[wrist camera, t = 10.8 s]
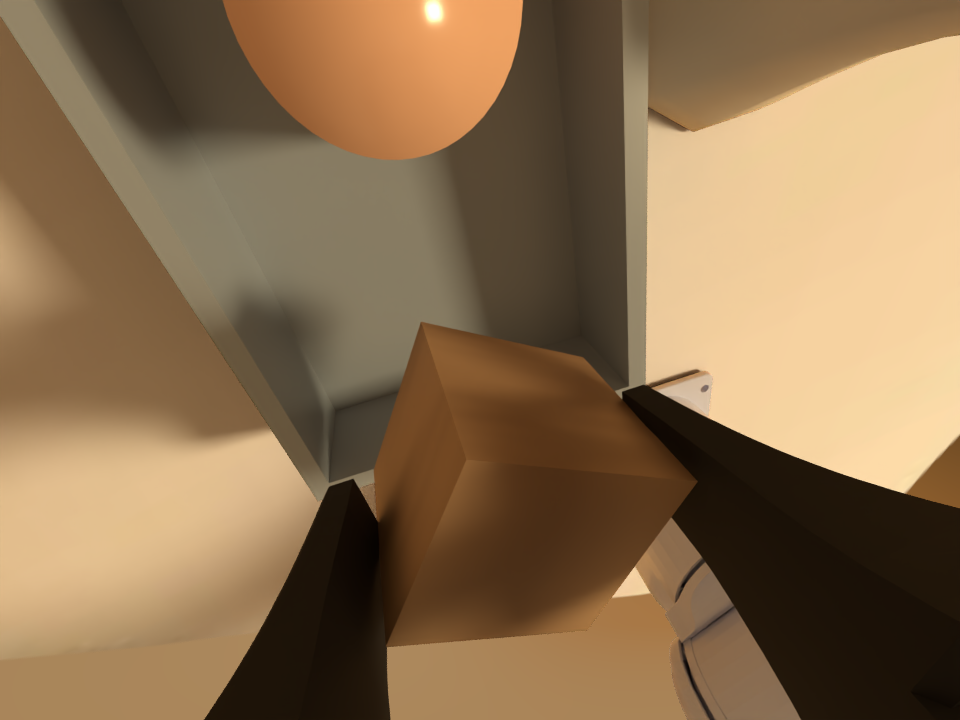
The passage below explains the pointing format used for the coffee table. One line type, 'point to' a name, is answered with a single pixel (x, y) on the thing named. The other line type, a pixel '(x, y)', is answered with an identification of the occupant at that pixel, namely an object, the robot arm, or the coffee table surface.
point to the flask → (772, 48)
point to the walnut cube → (511, 492)
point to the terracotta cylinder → (381, 66)
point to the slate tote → (367, 207)
